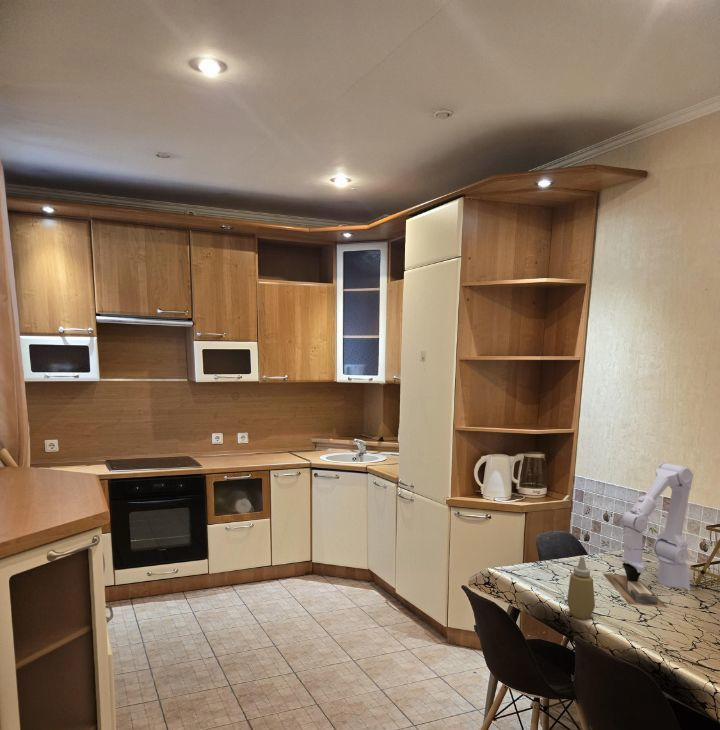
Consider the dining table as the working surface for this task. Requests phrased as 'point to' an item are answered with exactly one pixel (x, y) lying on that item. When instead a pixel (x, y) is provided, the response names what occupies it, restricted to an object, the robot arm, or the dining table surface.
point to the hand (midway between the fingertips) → (632, 585)
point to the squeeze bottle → (581, 592)
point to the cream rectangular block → (638, 588)
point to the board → (622, 587)
